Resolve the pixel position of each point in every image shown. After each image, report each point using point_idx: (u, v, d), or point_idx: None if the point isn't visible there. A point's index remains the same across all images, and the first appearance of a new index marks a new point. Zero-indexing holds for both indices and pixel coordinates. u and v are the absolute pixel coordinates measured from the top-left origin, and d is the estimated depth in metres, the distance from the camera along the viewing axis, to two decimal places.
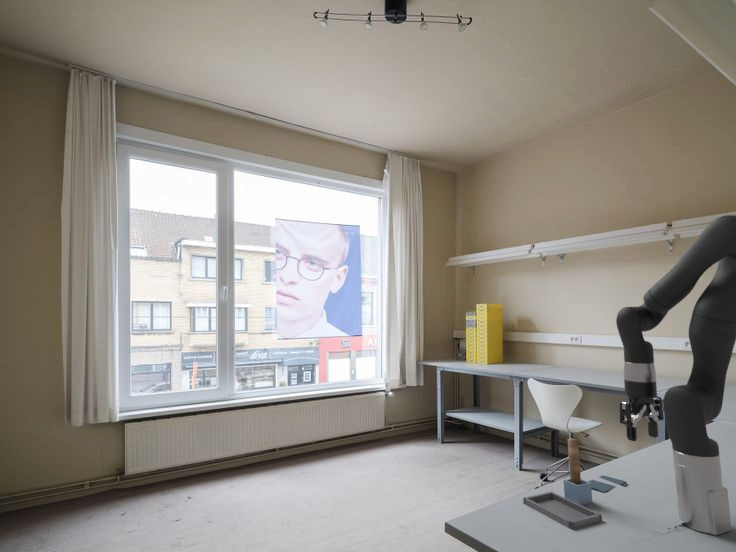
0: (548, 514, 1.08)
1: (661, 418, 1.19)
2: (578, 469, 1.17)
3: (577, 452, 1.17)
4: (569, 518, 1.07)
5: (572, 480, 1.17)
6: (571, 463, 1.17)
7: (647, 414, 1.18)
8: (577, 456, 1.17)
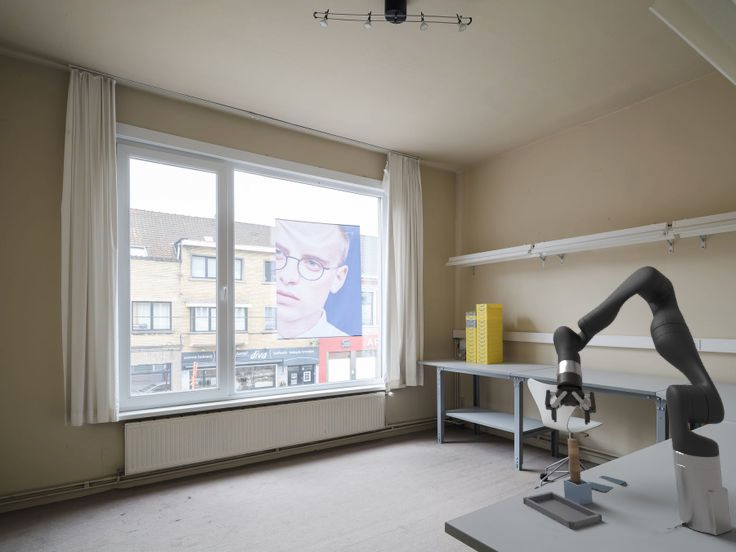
0: (548, 514, 1.08)
1: None
2: (578, 469, 1.17)
3: (577, 452, 1.17)
4: (569, 518, 1.07)
5: (572, 480, 1.17)
6: (571, 463, 1.17)
7: None
8: (577, 456, 1.17)
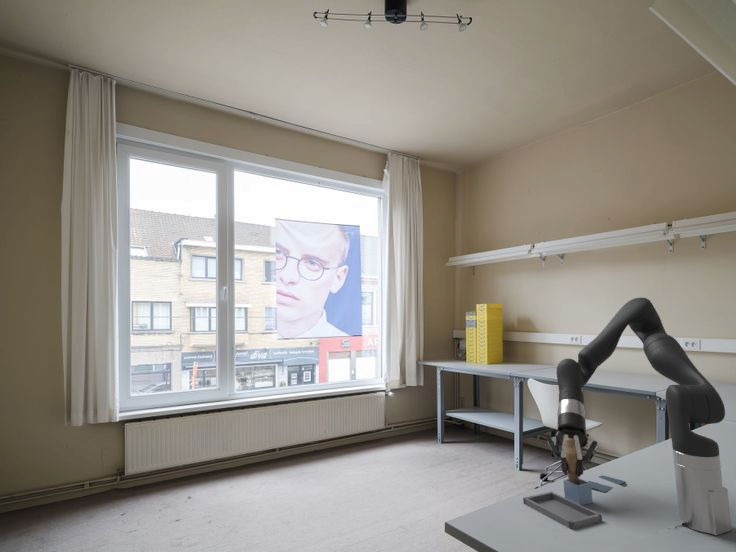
0: (548, 514, 1.08)
1: None
2: (576, 469, 1.17)
3: (574, 452, 1.18)
4: (569, 518, 1.07)
5: (570, 480, 1.17)
6: (569, 463, 1.18)
7: None
8: (574, 456, 1.17)
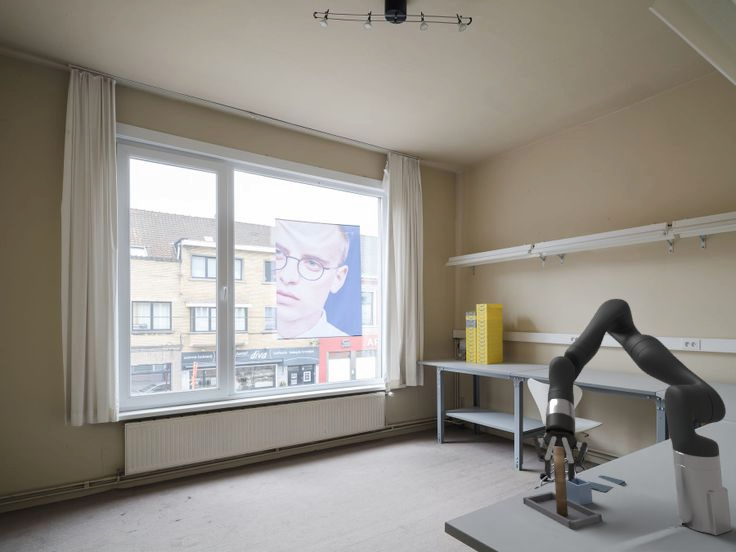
0: (548, 514, 1.08)
1: None
2: (563, 479, 1.09)
3: (562, 460, 1.10)
4: (569, 518, 1.07)
5: (557, 491, 1.09)
6: (556, 472, 1.10)
7: None
8: (562, 465, 1.10)
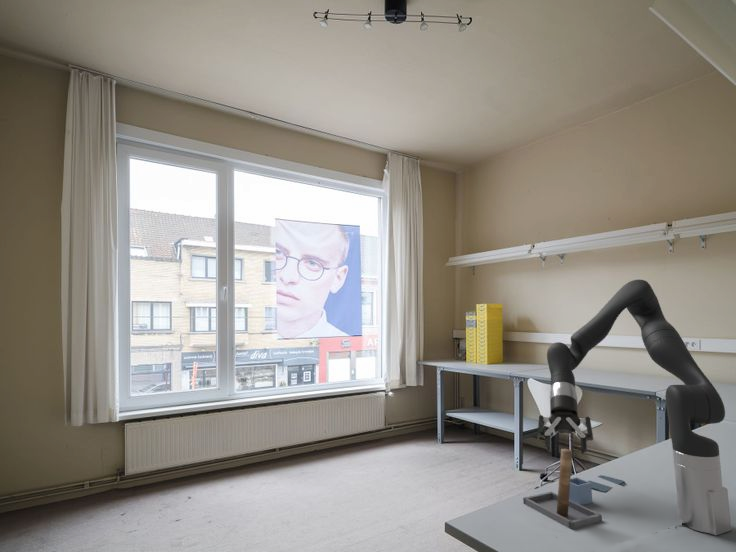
0: (548, 514, 1.08)
1: None
2: (568, 482, 1.08)
3: (569, 465, 1.08)
4: (569, 518, 1.07)
5: (559, 493, 1.08)
6: (561, 475, 1.08)
7: None
8: (568, 469, 1.08)
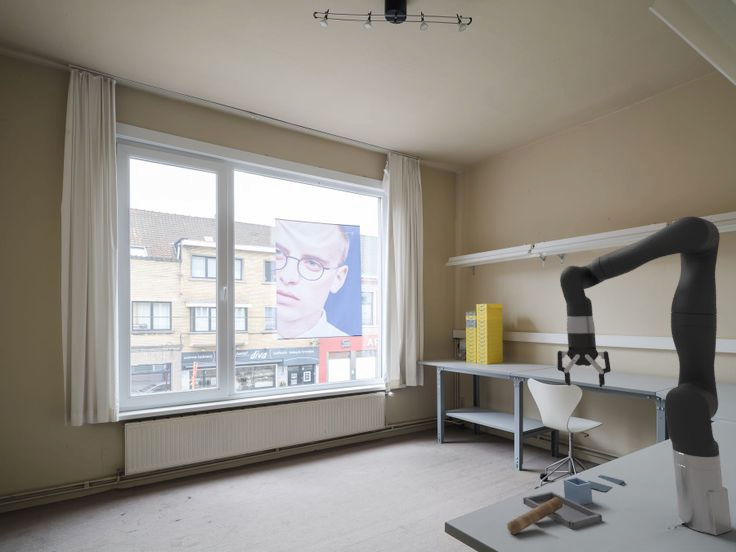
0: None
1: None
2: (538, 519, 1.04)
3: (524, 526, 1.02)
4: (569, 518, 1.07)
5: None
6: None
7: None
8: (527, 525, 1.02)
